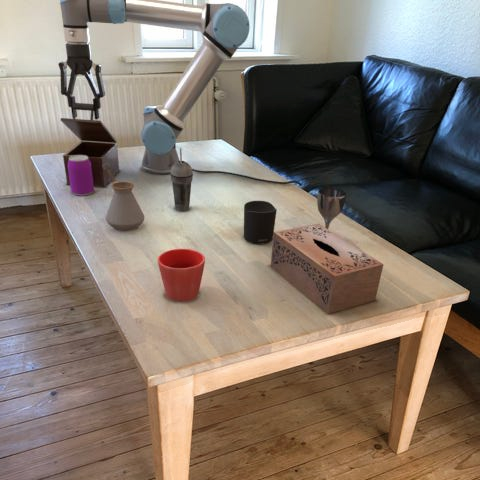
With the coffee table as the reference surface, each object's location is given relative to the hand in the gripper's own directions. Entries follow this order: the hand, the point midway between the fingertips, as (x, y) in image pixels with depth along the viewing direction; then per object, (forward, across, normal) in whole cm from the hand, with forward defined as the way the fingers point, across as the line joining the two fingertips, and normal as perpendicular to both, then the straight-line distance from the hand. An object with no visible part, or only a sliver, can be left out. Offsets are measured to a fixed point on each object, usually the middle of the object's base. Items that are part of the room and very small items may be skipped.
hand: (85, 117), depth 177 cm
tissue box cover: (+22, +80, -66) cm, 106 cm away
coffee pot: (+22, +20, -36) cm, 46 cm away
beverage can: (+22, +1, -14) cm, 26 cm away
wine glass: (+22, +83, -40) cm, 94 cm away
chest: (+21, 0, +2) cm, 22 cm away
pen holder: (+22, +63, -42) cm, 78 cm away
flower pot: (+22, +45, -77) cm, 92 cm away
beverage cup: (+22, +37, -23) cm, 48 cm away
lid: (+6, 0, +3) cm, 6 cm away
